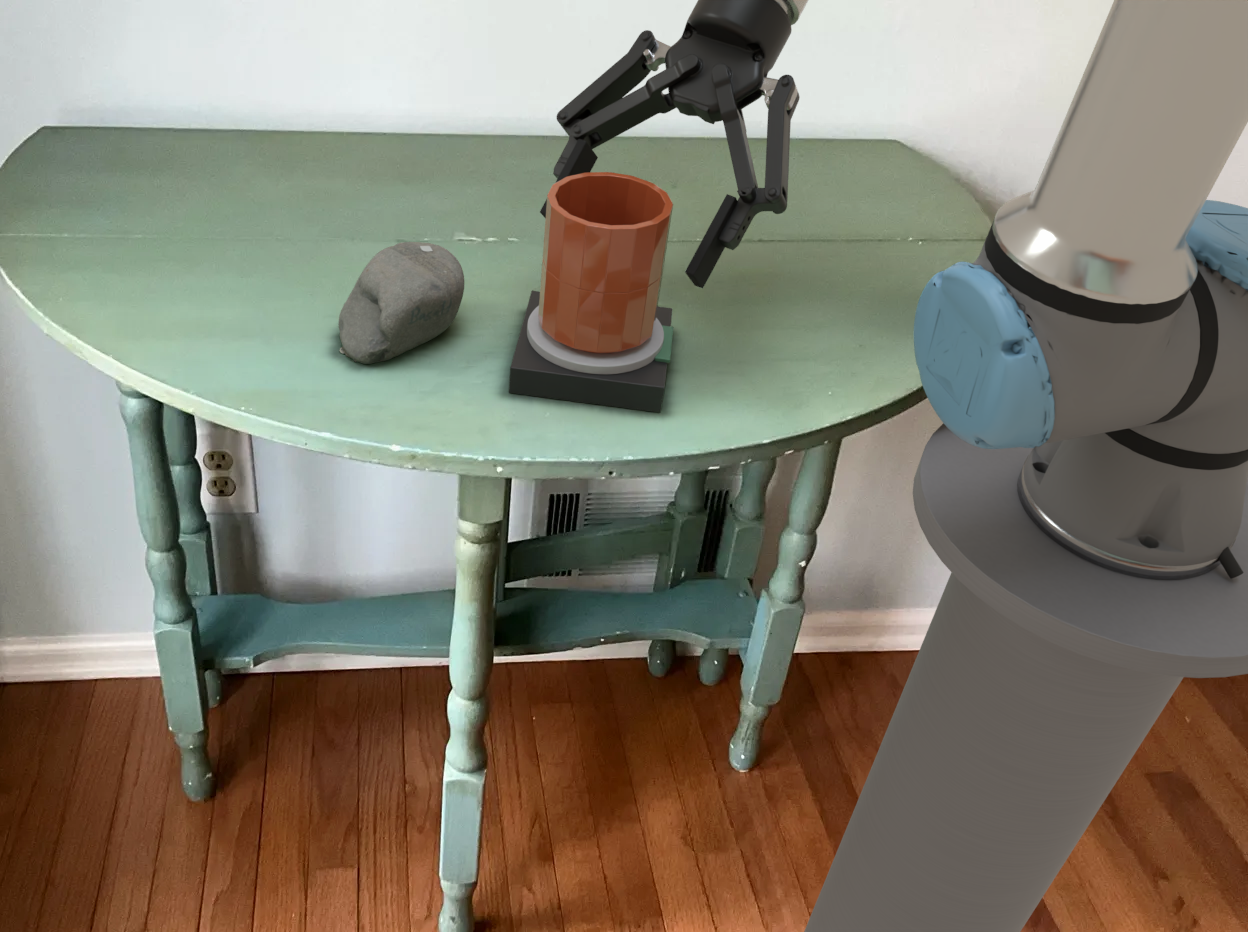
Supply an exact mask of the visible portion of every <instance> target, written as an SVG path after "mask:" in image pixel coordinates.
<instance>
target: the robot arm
mask: <svg viewBox="0 0 1248 932" xmlns="http://www.w3.org/2000/svg"><path fill="white" fill-rule="evenodd" d="M808 2H809V0H697V2H696V3H695V5H694V7H693V9H692V10H691V13H690V15H689V16H688V19H687V20H686V23H685V27H684V29H683V32H682V35H681V36H680V38H679V39H678V40H677V41H676V42H675V43H673V44H672V45H671V46H670V45H668V44H666V43H664V42H663V41H660V40H657V39H656V37H655V35H654V33H653V32H652V31H651V30H649V29H648V30H646V29H645V30H643V31H641V32H640V34H639V35H638V36H637V38H636V40H635V41H634V42H633V44H632V46H631V47H630V49H629V51H628V52H627V53H626V54H624V56H622V57H621V58H620V59H619V60H617V62H615V63H614V64H613V65H611V66H610V67H609V68H608V69H607V70H605V72H603V73H602V74H601V75H599V76H598V78H596V79H595V80H594V81H593V82H591V84H589V85H588V86H587V87H586V88H585V89H584V90H582V91H581V92H580V93H579V94H578V95H576V97H574V98H573V99H571V101H570V102H568V103H567V104H566V105H565V106H564V107H563V108H561V109H560V110H559V111H558V112H557V114H556V121H557V122H558V123H559V125H560V126H561V128H562V130H564V132H565V133H566V135H568V141H567V143H566V144H565V147H564V148H563V149H562V151H561V154H560V156H559V158H558V159H557V161H556V163H555V165H554V166H553V171H552V172H553V173H552V175H553V176H554V177H555V178H556V180H555V183H556V182H558V181H560V180H562V179H563V178H565V177H567V176H572V175H576V174H581V173H587V172H592V170H593V168H594V166H595V165H596V162H597V161H598V158H599V157H598V155H597V153H595V151H594V149H595V148H597V147H599V146H601V145H603V144H605V143H606V142H608V141H610V140H612V139H614V138H616V137H618V136H619V135H622V134H623V133H625V132H627V131H629V130H630V129H632V128H634V127H636V126H638V125H640V124H641V123H643V122H645V121H647V120H649V119H651V118H653V117H654V116H657V115H658V114H663V115H664V114H668V113H669V112H671V111H673V110H675V109H677V110H678V112H679V114H682V115H685V116H689V117H698V118H700V119H701V120H702V121H704V122H706V123H708V124H711V125H715V123H718V122H722V123H723V126H724V132H725V136H726V141H727V147H728V150H729V155H730V159H731V165H732V169H733V173H734V177H735V182H736V183H735V184H736V188H737V190H736V192H737V194H738V196H739V197H738V199H737V197H736V196H733V195H731V194H728V193H726V195H725V197H724V199H723V200H722V203H721V204H720V206H719V208H718V210H717V212H716V214H715V215H714V217H713V219H712V221H711V223H710V225H709V226H708V228H707V230H706V232H705V234H704V236H703V237H702V239H701V241H700V243H699V245H698V247H697V249H696V251H695V252H694V254H693V255H692V258H691V260H690V261H689V263H688V266H687V268H686V269H685V271H684V273H685V274H686V276H687V277H688V279H689V280H690V282H691V283H692V284H693V285H694V286H695V287H698V288H700V289H704V288H705V286H706V283H707V282H708V280H709V278H710V276H711V274H712V273H713V271H714V269H715V267H716V266H717V263H718V262H719V260H720V258H721V256H722V254H723V252H724V250H725V249H729V250H731V251H735V249H737V247H739V246H740V244H741V242H742V240H743V238H744V236H745V234H746V233H747V231H748V229H749V228H750V226H751V223H752V221H753V220H754V218H755V217H756V216H757V215H758V214H759V213H762V212H772V213H773V214H775V215H781V214H783V213H785V212H786V210H787V208H788V197H789V196H788V195H789V194H788V193H789V169H790V167H789V166H790V149H791V148H790V146H791V144H790V143H791V123H792V122H791V121H792V118H793V117H794V113H795V111H796V109H797V106H798V104H799V101H800V93H799V90H798V87H797V85H796V82H795V80H794V77H793V76H792V75H790V74H783V75H781V76H780V77H779V78H778V79H777V78H773V77H772V78H771V77H768V74H769V72H770V71H771V70H772V69H773V67H774V66H775V64H776V62H777V60H778V58H779V57H780V55H781V53H782V51H783V49H784V47H785V45H786V44H787V41H788V40H789V38H790V36H791V34H792V26H793V25H796V23H797V22H798V21H799V19H800V16H801V15H802V14H803V12H804V10H805V9H806V6H807V5H808ZM661 65H665V69H664V70H662V71H661V72H658V73H657V74H655V75H653V76H652V77H649V78H648V79H647V80H646V82H645V84H644V85H643V86H641V87H639V88H637V89H636V90H634V91H632V90H633V89H635V88H636V87H637V86H638V85H639V84H641V83H642V82H643V81H644V80H645V79H646V78H647V77H648V75H649V74H650V73H651V72H657V71H658V70H659V68H660V67H659V66H661ZM667 89H668V92H667V93H663V91H665V90H667ZM631 91H632V92H631ZM630 92H631V93H630ZM761 97H764V99H763V100H764V103H765V106H766V108H767V124H766V125H767V126H766V127H767V128H766V148H765V150H766V151H765V170H764V171H765V172H764V173H765V174H764V187H759V184H758V180H757V176H756V170H755V167H754V162H753V158H752V153H751V148H750V143H749V139H748V135H747V126H746V122H745V118H744V114H743V109H745V108H746V107H748V106H750V105H751V104H753V103H754V102H756V101H757V100H759V99H760V98H761ZM1072 97H1073V98H1072V100H1071V102H1070V104H1069V107H1068V109H1067V111H1066V114H1065V116H1064V119H1063V121H1062V123H1061V125H1060V129H1059V131H1058V133H1057V135H1056V138H1055V140H1054V143H1053V146H1052V147H1051V150H1050V151H1049V155H1048V157H1047V159H1046V161H1045V163H1044V166H1043V168H1042V171H1041V174H1040V176H1039V178H1038V180H1037V183H1036V186H1035V187H1034V189H1033V190H1030V191H1028V192H1026V193H1023V194H1021V195H1018V196H1016V197H1013V198H1010V199H1009V200H1007V201H1006V202H1005V203H1004V204H1002V205H1001V207H999V209H998V210H997V211H996V213H995V216H994V217H993V220H992V223H991V225H990V228H989V230H988V233H987V234H986V236H985V239H984V242H983V245H982V247H981V250H980V252H979V254H978V256H977V258H976V259H975V261H973V262H970V261H969V262H968V261H957V262H955V263H954V264H952V265H951V266H949V267H947V268H946V269H944V270H942V271H938V272H937V273H935V274H934V275H933V276H932V277H931V278H930V279H929V280H928V281H927V283H926V284H925V286H924V288H923V289H922V291H921V294H920V296H919V299H918V302H917V305H916V308H915V313H914V321H913V350H914V358H915V363H916V366H917V369H918V373H919V379H920V382H921V385H922V389H923V391H924V393H925V395H926V398H927V400H928V401H929V403H930V406H931V407H932V409H933V411H934V413H935V414H936V415H937V417H938V418H939V419H940V421H941V422H942V424H943V423H944V424H945V425H946V427H947V428H948V429H949V430H950V431H952V432H953V433H954V434H955V435H956V436H957V437H959V438H960V439H962V440H963V441H965V442H967V443H969V444H971V445H973V446H976V447H979V448H985V449H1004V448H1016V447H1023V448H1033V449H1032V451H1031V452H1030V454H1029V455H1028V457H1027V458H1026V460H1025V462H1024V465H1023V467H1022V469H1021V472H1020V474H1019V477H1018V482H1017V491H1018V496H1019V499H1020V502H1021V504H1022V506H1023V508H1024V510H1025V511H1026V513H1027V515H1028V516H1029V517H1030V519H1031V520H1032V521H1033V522H1034V523H1035V525H1036V526H1037V527H1038V528H1039V529H1040V530H1041V531H1042V532H1044V533H1045V534H1046V535H1047V536H1048V537H1049V538H1051V539H1052V540H1053V541H1054V542H1056V543H1057V544H1059V545H1060V546H1062V547H1063V548H1065V549H1066V550H1068V551H1070V552H1071V553H1073V554H1075V555H1077V556H1079V557H1080V558H1082V559H1084V560H1087V561H1089V562H1091V563H1093V564H1096V565H1098V566H1101V567H1103V568H1106V569H1109V570H1112V571H1115V572H1118V573H1122V574H1126V575H1130V576H1135V577H1140V578H1146V579H1155V580H1180V579H1188V578H1193V577H1197V576H1200V575H1203V574H1206V573H1208V572H1210V571H1212V570H1213V569H1215V568H1216V567H1217V566H1219V565H1220V564H1222V566H1223V568H1224V569H1225V571H1226V572H1227V574H1228V576H1229V577H1230V578H1231V579H1232V578H1235V577H1237V576H1239V575H1241V574H1243V573H1244V572H1243V571H1242V569H1241V567H1240V566H1239V564H1238V563H1237V561H1236V559H1235V558H1234V556H1233V554H1232V553H1231V551H1230V549H1231V548H1232V546H1233V544H1234V543H1235V541H1236V537H1237V535H1238V532H1239V529H1240V526H1241V520H1242V513H1243V506H1244V498H1245V491H1246V484H1247V476H1248V207H1246V206H1241V205H1238V204H1233V203H1229V202H1225V201H1221V200H1220V201H1219V200H1213V199H1212V200H1211V199H1208V197H1209V195H1210V193H1211V191H1212V190H1213V188H1214V186H1215V184H1216V183H1217V181H1218V179H1219V177H1220V174H1221V173H1222V171H1223V169H1224V167H1225V166H1226V164H1227V162H1228V160H1229V158H1230V156H1231V154H1232V152H1233V151H1234V149H1235V147H1236V145H1237V143H1238V141H1239V139H1240V138H1241V136H1242V134H1243V132H1244V130H1245V128H1246V126H1247V125H1248V0H1113V2H1112V4H1111V6H1110V10H1109V12H1108V14H1107V16H1106V19H1105V21H1104V23H1103V26H1102V28H1101V31H1100V32H1099V35H1098V38H1097V40H1096V43H1095V44H1094V47H1093V49H1092V52H1091V55H1090V57H1089V60H1088V61H1087V64H1086V66H1085V68H1084V70H1083V73H1082V76H1081V78H1080V81H1079V82H1078V85H1077V88H1076V90H1075V92H1074V94H1073V96H1072ZM555 183H554V184H555ZM546 206H547V198H546V199H545V201H544V203H543V205H542V207H541V209H540V210H539V213H540V214H541V215H542V216H543V218H544V220H545V219H546Z"/></svg>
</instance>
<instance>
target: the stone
mask: <svg viewBox="0 0 1248 932" xmlns="http://www.w3.org/2000/svg"><path fill="white" fill-rule="evenodd" d="M358 276H359V277H358V278H357V280H356V282H355V284H354V286H353V288H352V290H351V291H350V293H349V295H348V296H347V299H346V301H345V302H344V304H343V305H342V307H341V310H340V312H339V316H338V323H337V324H338V330H339V339H340V342H341V347H339V352H340V353H341V354H345V356H346V357H347V358H349V359H352V360H353V362H354V363H360V364H363V365H368V364H369V365H370V364H376V363H380V362H386V361H389V360H391V359H394V358H396V357H398V356H401V355H403V354H404V353H406V352H408V351H410V350H412V349H415V348H416V347H419V346H421V345H423V344H425V343H428V342H429V341H431V340H433V339H434V338H436V337H438V336H439V335H441V334H442V333H444V332H445V331H446V330H447V329H448V328H449V327H450V326H451V325H452V323H453V322H454V320H455V319H456V317H457V315H458V312H459V310H460V306H461V304H462V301H463V296H464V293H465V275H464V271H463V267H462V265H461V263H460V261H459V259H457V257H456V255H454V254H453V253H452V252H450V250H448V249H447V248H445V247H443V246H441V245H439V244H434V243H431V242H422V241H421V242H420V241H404V242H398V243H396V244H394V245H391V246H387V247H385V248H383V249H381V250H379V251H378V252H376V254H375V255H374V256H372V258H371V259H370V260H369V261H368V262H367V264H366V265H365V266H364V268H363V270H362V271H361V273H360V274H359V275H358Z"/></svg>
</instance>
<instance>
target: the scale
mask: <svg viewBox="0 0 1248 932" xmlns="http://www.w3.org/2000/svg"><path fill="white" fill-rule="evenodd" d="M539 299H540V290H531V292H530V295H529V298H528V302H527V306H526V309H525V313H524V316H523V321H522V324H521V328H520V330H519V335H518V339H517V342H516V345H515V349H514V352H513V356H512V360H511V364H510V366H509V381H508V393H509V394H516V395H523V396H524V395H525V396H532V397H538V398H545V399H555V400H560V401H562V400H563V401H570V402H577V403H584V404H591V405H600V406H606V407H614V408H622V409H629V410H636V411H645V412H651V413H652V412H653V413H661V412H662V407H663V401H664V397H665V390H666V381H667V379H666V378H667V369H668V364H670V363H671V359H672V358H671V357H672V348H673V347H672V346H673V339H674V326H672V319H673V307H666V306H659V305H658V308H657V315H656V321H655V326H654V330H653V333H652V336H651V337H650V338H649V339H648V340H646V341H645V342H644V343H642V344H641V345H640V346H637V347H634V348H630V349H627V350H624V351H620V352H613V353H592V352H585V351H581V350H577V349H574V348H572V347H569V346H567V345H565V344H562V343H560V342H558V341H556V340H554V339H553V338H552V337H551V336H550V335H549V334H547V333H546V332H545V331H544V330H543V329H542V327H541V323H540V320H539V317H538V313H539Z"/></svg>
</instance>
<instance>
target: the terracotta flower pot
mask: <svg viewBox="0 0 1248 932" xmlns="http://www.w3.org/2000/svg"><path fill="white" fill-rule="evenodd" d="M555 182H556V181H555ZM546 199H547V206H546V219H545V218H544V220H545V221H544V234H543V247H542V262H541V272H540V275H541V276H540V286H539V287H540V288H539V291H540V299H539V313H538V317H539V320H540V323H541V327H542V329H543V330H544V331H545V332H546V333H547V334H549V335H550V336H551V337H552V338H553V339H554V340H556V341H558V342H560V343H562V344H565V345H567V346H569V347H572V348H574V349H577V350H581V351H585V352H592V353H613V352H620V351H624V350H627V349H630V348H634V347H637V346H640V345H641V344H642V343H644V342H645V341H646V340H648V339H649V338H650V337H651V336H652V333H653V330H654V326H655V321H656V315H657V308H658V306H659V302H660V300H659V299H660V293H661V289H662V280H663V274H664V268H665V261H666V255H667V247H668V241H669V235H670V228H671V222H672V215H673V209H674V203H673V201H672V199H671V198H670V195H669V194H668V193H667V191H665V190H663V188H661V187H660V186H658V185H657V184H655V183H653V182H651V181H649V180H645V179H642V178H640V177H638V176H634V175H630V174H624V173H617V172H611V171H598V172H597V171H596V172H595V171H593V172H592V171H590V172H587V173H581V174H576V175H572V176H567V177H565V178H563V179H562V180H560V181H558V182H556V183H553V184H552V185H551V187H550V189H549V191H548V193H547V196H546Z"/></svg>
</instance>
